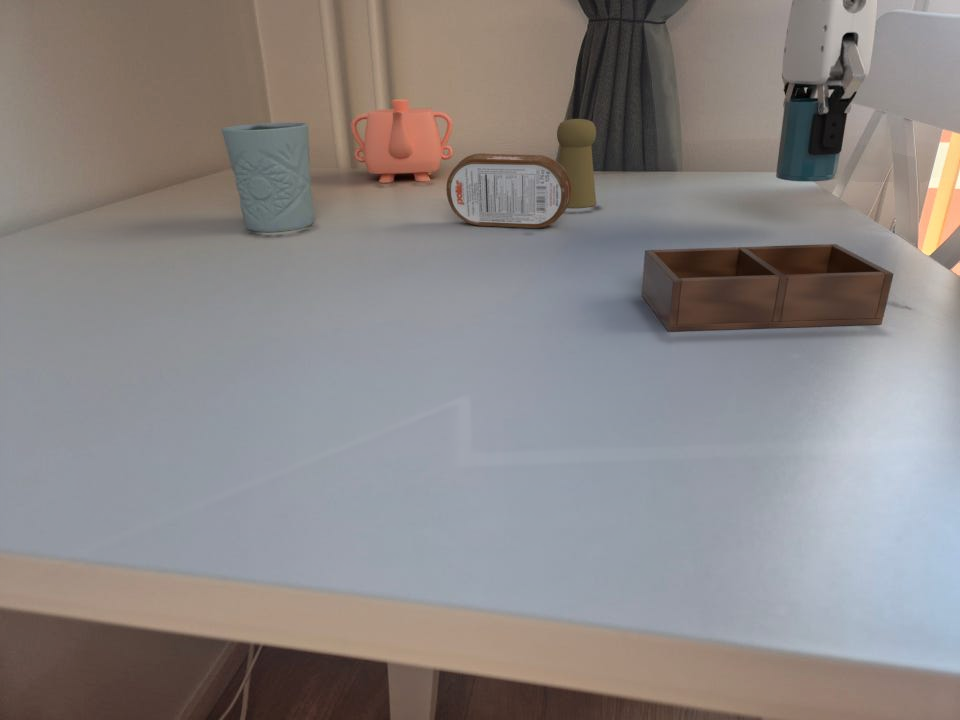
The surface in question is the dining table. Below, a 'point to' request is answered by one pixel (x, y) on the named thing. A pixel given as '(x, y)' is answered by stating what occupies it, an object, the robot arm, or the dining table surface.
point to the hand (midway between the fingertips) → (809, 148)
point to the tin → (509, 190)
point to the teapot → (402, 141)
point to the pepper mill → (578, 160)
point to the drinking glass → (272, 174)
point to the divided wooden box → (764, 287)
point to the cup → (802, 145)
